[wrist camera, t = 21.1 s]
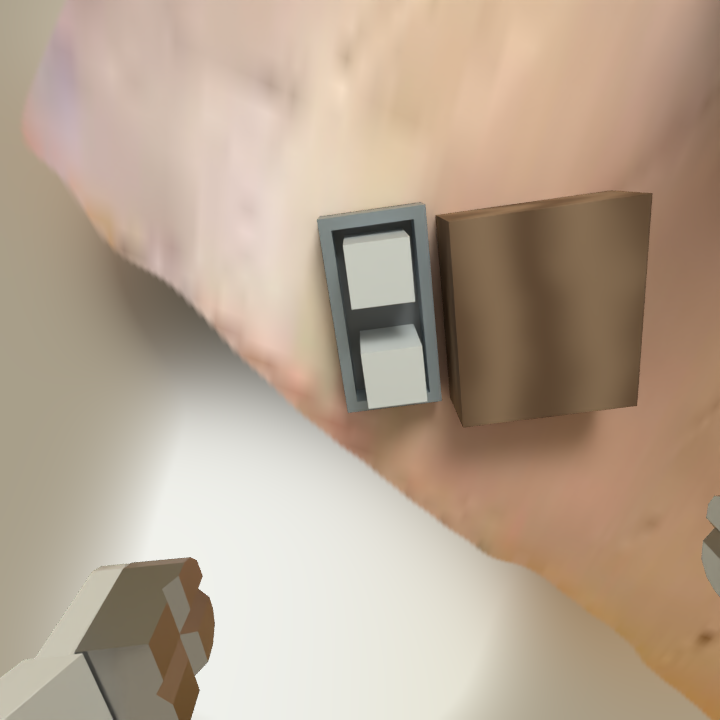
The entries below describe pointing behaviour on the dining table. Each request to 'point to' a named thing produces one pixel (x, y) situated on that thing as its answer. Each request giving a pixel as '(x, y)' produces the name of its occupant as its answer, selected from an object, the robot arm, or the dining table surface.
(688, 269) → the dining table surface
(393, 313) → the tray
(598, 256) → the square brown board
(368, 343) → the off-white small block
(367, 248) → the white block
